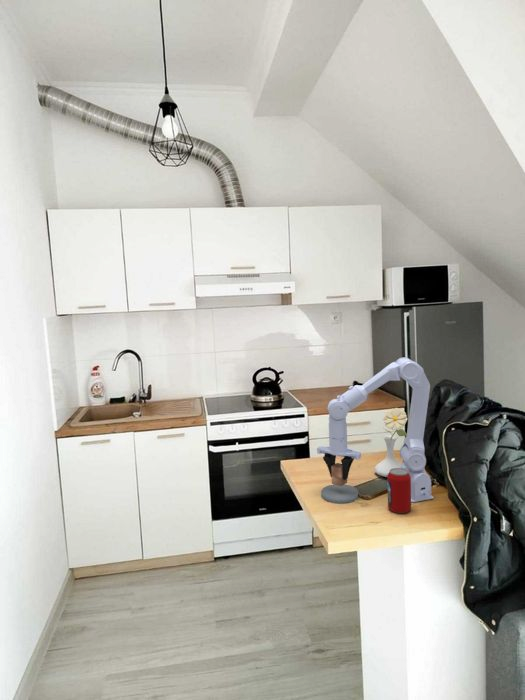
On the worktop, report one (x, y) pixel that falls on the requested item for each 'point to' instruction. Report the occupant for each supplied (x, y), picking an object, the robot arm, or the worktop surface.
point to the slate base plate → (339, 494)
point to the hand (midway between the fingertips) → (339, 477)
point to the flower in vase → (392, 440)
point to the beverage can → (399, 490)
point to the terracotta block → (337, 474)
